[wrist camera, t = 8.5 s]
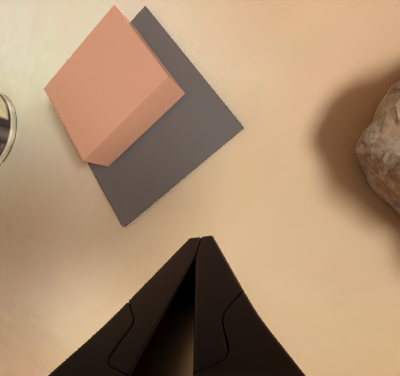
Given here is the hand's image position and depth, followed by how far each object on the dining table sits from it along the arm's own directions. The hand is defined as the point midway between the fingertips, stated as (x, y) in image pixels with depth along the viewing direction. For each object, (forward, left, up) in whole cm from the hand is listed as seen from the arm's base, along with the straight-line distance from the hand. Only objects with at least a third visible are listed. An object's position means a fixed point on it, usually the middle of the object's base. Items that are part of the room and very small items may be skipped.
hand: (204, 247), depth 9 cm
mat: (+13, +8, -11) cm, 18 cm away
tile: (+10, +7, -9) cm, 15 cm away
